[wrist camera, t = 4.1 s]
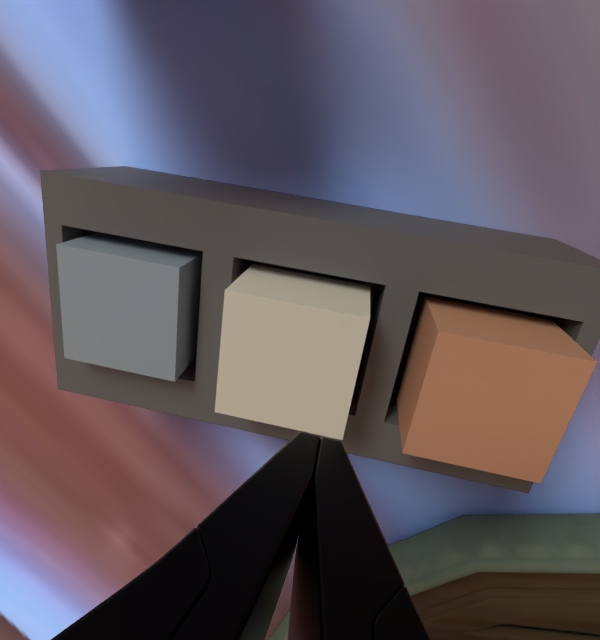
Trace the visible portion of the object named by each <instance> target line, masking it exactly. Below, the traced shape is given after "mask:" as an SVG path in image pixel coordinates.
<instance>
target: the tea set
mask: <svg viewBox="0 0 600 640" xmlns="http://www.w3.org/2000/svg"><path fill="white" fill-rule="evenodd" d="M388 547H389V549H390V552H391V554H392V556H393V558H394V561H395V563H396V565H397V567H398V569H399V572H400V574H401V576H402V578H403V581H404V586H405V587H407V589H408V591H409V594H410V596H411V598H412V600H413V603H414V605H415V607H416V609H417V611H418V614H419V616H420V618H421V620H422V622H423V624H424V626H425V628H426V630H427V632H428V634H429V636H430V639H431V640H600V514H523V515H462V516H460V517H457V518H455V519H453V520H450V521H448V522H445V523H443V524H440V525H438V526H435V527H433V528H431V529H428V530H426V531H423V532H421V533H418V534H416V535H413V536H411V537H408V538H406V539H404V540H401V541H399V542H396V543H394V544H391V545H389V546H388ZM289 620H290V611H289V612H288V613H287V615H286V616H285V618H284V619H283V620H282V622H281V623H280V625H279V626H278V627H277V629H276V630H275V631H274V633H273V634H272V636H271V637H270V638H269V640H288V631H289Z"/></svg>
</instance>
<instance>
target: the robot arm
mask: <svg viewBox="0 0 600 640" xmlns="http://www.w3.org/2000/svg"><path fill="white" fill-rule="evenodd" d="M299 531H300V532H299ZM298 536H299V537H298ZM297 540H298V542H297ZM296 544H297V548H296ZM295 548H296V556H295V565H294V576H293V587H292V598H291V609H290V620H289V631H288V640H431V639H430V636H429V634H428V632H427V630H426V628H425V626H424V624H423V622H422V620H421V618H420V616H419V614H418V611H417V609H416V607H415V605H414V603H413V600H412V598H411V596H410V594H409V591H408V589H407V587H405V586H404V581H403V578H402V576H401V574H400V572H399V569H398V567H397V565H396V563H395V561H394V558H393V556H392V554H391V552H390V549H389V547H388V545H387V543H386V540H385V538H384V536H383V534H382V532H381V529H380V527H379V525H378V523H377V520H376V518H375V516H374V514H373V511H372V509H371V507H370V505H369V503H368V500H367V498H366V496H365V494H364V491H363V489H362V487H361V485H360V482H359V480H358V478H357V476H356V474H355V471H354V469H353V467H352V465H351V462H350V460H349V458H348V456H347V453H346V451H345V449H344V447H343V445H342V443H341V441H339V440H336V439H332V438H328V437H321V439H320V437H319V436H318V435H316V434H312V433H308V432H304V431H301V432H299V433H298V434H297V435H296V436H295V437H294V438H293V439H292V440H290V441H289V442H288V443H287V444H286V445H285V446H284V447H283V448H282V449H281V450H280V451H278V452H277V453H276V454H275V455H274V456H273V457H272V458H271V459H270V460H269V461H268V462H266V463H265V464H264V465H263V466H262V467H261V468H260V469H259V470H258V471H257V472H256V473H254V474H253V475H252V476H251V477H250V478H249V479H248V480H247V481H246V482H245V483H243V484H242V485H241V486H240V487H239V488H238V489H237V490H236V491H235V492H234V493H233V494H231V495H230V496H229V497H228V498H227V499H226V500H225V501H224V502H223V503H222V504H221V505H219V506H218V507H217V508H216V509H215V510H214V511H213V512H212V513H211V514H210V515H209V516H207V517H206V518H205V519H204V520H203V521H202V522H201V523H200V524H199V525H198V526H197V528H194V529H193V530H192V531H191V532H190V533H189V534H188V535H186V536H185V537H184V538H183V539H182V540H181V541H180V542H179V543H178V544H177V545H175V546H174V547H173V548H172V549H171V550H170V551H168V552H167V553H166V554H165V555H164V556H163V557H161V558H160V559H159V560H158V561H157V562H156V563H154V564H153V565H152V566H150V567H149V568H148V569H146V570H145V571H144V572H143V573H141V574H140V575H139V576H137V577H136V578H135V579H133V580H132V581H131V582H129V583H128V584H127V585H125V586H124V587H123V588H121V589H120V590H119V591H117V592H116V593H114V594H113V595H112V596H110V597H109V598H108V599H106V600H105V601H103V602H102V603H101V604H99V605H98V606H97V607H95V608H94V609H92V610H91V611H90V612H88V613H87V614H86V615H84V616H83V617H81V618H80V619H79V620H77V621H76V622H75V623H73V624H72V625H70V626H69V627H68V628H66V629H65V630H63V631H62V632H61V633H59V634H58V635H57V636H55V637H54V638H52V639H51V640H264V639H265V636H266V633H267V630H268V628H269V625H270V622H271V619H272V616H273V613H274V610H275V607H276V604H277V601H278V599H279V596H280V593H281V590H282V587H283V584H284V581H285V578H286V575H287V572H288V570H289V567H290V564H291V561H292V558H293V554H294V551H295Z"/></svg>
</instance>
